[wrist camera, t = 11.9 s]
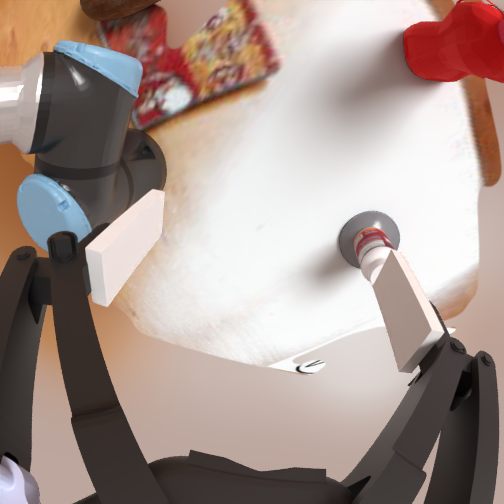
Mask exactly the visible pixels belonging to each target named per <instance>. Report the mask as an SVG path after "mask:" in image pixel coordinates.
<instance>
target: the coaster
mask: <svg viewBox="0 0 504 504" xmlns="http://www.w3.org/2000/svg"><path fill="white" fill-rule="evenodd" d="M368 227H377V228H379V229H381V230H382V231H383V232H384V233H385V234H386V236H387V237H388V239H389V241H390V242H391V244H392V246H393V248H394V250H396V251H397V249H398V246H399V242H400V234H399V230H398V227H397V225H396V224H395V222H394V221H393V220H392V219H391V218H390V217H389V216H388V215H386V214H384V213H382V212H378V211H367V212H363V213H360V214H358V215H356V216H354V217H353V218H352V219H350V220H349V221H348V222H347V224H346V225H345V226H344V228H343V230H342V232H341V235H340V249H341V252H342V255H343V257H344V258H345V259H346V261H347V262H348V263H350V264H351V265H353V266H355V267H357V268H360V265H359V262H358V259H357V256H356V253H355V249H354V240H355V237H356V236H357V234H358V233H359V232H360V231H361V230H363V229H365V228H368Z"/></svg>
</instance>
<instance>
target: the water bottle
mask: <svg viewBox="0 0 504 504" xmlns="http://www.w3.org/2000/svg"><path fill="white" fill-rule="evenodd" d="M461 1H463V0H459V1H458V2H457V3H456V5H455V6H454V8H453V9H452V10H451V11H450V13H449V14H448V15H447V16H446V18H445V19H444V20H443V21H442V22H419V23H416V24H414V25H411V26H410V27H409V28H408V29H407V30H406V31H405V34H404V42H403V44H404V49H405V58H406V61H407V63H408V66H409V68H410V69H411V70H412V71H413V73H414V74H415V75H417V76H419V77H421V78H423V79H427V80H434V81H441V82H455V81H458V80H460V79H462V78H464V77H466V76H468V75H470V74H472V75H475V76H478V77H480V78H488V79H491V80H495V81H498V82H501V83H504V11H502V9H500V8H499V7H498V6H496V5H494V4H493V3H491V2H490V1H489V0H487V1H488V2H490V3H491V4H493V5H489V4H485V3H483V2H480V1H478V2H461ZM460 2H461V3H460ZM492 6H494V7H495V8H494V7H492ZM496 8H497V9H496Z"/></svg>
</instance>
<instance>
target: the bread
mask: <svg viewBox="0 0 504 504" xmlns="http://www.w3.org/2000/svg"><path fill="white" fill-rule="evenodd" d="M158 1H160V0H80V4H81V7H82V10H83V11H84V12H85V13H86V14H87V15H88V16H89V17H90V18H92V19H94V20H98V21H103V20H111V19H117V18H122V17H126V16H129V15H132V14H134V13H136V12H139V11H141V10H143V9H145V8H147V7H148V6H150V5H152V4H154V3H156V2H158Z"/></svg>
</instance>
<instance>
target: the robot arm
mask: <svg viewBox="0 0 504 504" xmlns="http://www.w3.org/2000/svg"><path fill="white" fill-rule="evenodd" d="M53 51H54V52H38V53H37V54H35V55H34V56H33V57H32V58H31V59H29V60H28V61H27V62H26V63H25V64H23V65H17V66H1V67H0V144H5V143H12V144H14V145H15V146H16V147H17V148H18V149H19V150H20V151H21V152H22V153H23V154H35V153H36V155H35V168H34V174H31V175H29V176H27V177H26V178H25V180H24V181H23V182H22V184H21V185H20V186H19V190H18V192H17V207H18V212H19V215H20V218H21V221H22V223H23V225H24V227H25V229H26V230H27V232H28V233H29V235H30V236H31V238H32V239H33V240H34V241H35V242H36V243H37V244H38V245H39V246H40V247H41V248H42V249H44V250H45V251H47V252H48V253H49V258H43V257H37V252H36V250H35V248H33V247H31V246H23V247H20V248H17V249H16V250H14V251H13V252H12V254H11V255H10V257H9V259H8V261H7V263H6V265H5V267H4V269H3V272H2V274H1V276H0V504H41V503H40V500H39V496H40V494H39V488H38V485H37V482H36V481H35V478H34V477H33V476H32V475H31V474H30V465H31V449H32V437H31V436H32V434H31V433H32V404H33V390H34V380H35V370H36V363H37V355H38V349H39V343H40V337H41V332H42V326H43V321H44V317H45V312H46V307H47V305H52V307H53V316H54V326H55V333H56V340H57V346H58V353H59V359H60V364H61V369H62V374H63V379H64V384H65V388H66V392H67V396H68V400H69V404H70V408H71V412H72V418H71V424H72V427H73V431H74V434H75V438H76V441H77V444H78V447H79V449H80V452H81V455H82V458H83V461H84V463H85V466H86V468H87V471H88V474H89V476H90V478H91V481H92V483H93V486H94V488H95V490H96V493H94V494H92V495H90V496H88V497H86V498H84V499H82V500H79V501H77V502H75V503H73V504H412V502H413V501H414V499H415V497H416V496H417V494H418V492H419V490H420V489H421V487H422V485H423V483H424V481H425V479H426V473H425V472H424V471H423V470H422V469H423V466H424V465H425V463H426V461H427V459H428V457H429V455H430V453H431V450H432V449H433V446H434V444H435V442H436V440H437V438H438V435H439V433H440V431H441V433H440V439H439V445H438V450H437V455H436V459H435V464H434V468H433V472H432V476H431V480H430V484H429V487H428V491H427V494H426V498H425V501H424V504H493V498H494V491H495V485H496V476H497V466H498V451H499V450H498V449H499V405H498V389H497V378H496V370H495V363H494V361H493V359H492V357H491V356H490V355H489V354H488V353H486V352H484V351H479V352H478V353H477V354H476V356H475V357H472V356H470V355H468V354H466V349H465V347H464V345H463V344H462V343H461V342H460V341H459V340H457V339H455V338H452V337H450V335H449V333H448V331H447V329H446V327H445V325H444V323H443V321H442V319H441V317H440V316H439V313H438V311H437V309H436V307H435V306H434V305H433V304H432V303H431V301H430V300H428V298H427V296H426V294H425V292H424V290H423V288H422V287H421V285H420V283H419V281H418V279H417V278H416V276H415V274H414V272H413V270H412V269H411V267H410V265H409V263H408V262H407V260H406V258H405V257H404V255H403V253H402V252H400V251H396V250H393V249H391V250H390V253H389V255H388V257H387V259H386V261H385V263H384V265H383V267H382V269H381V271H380V273H379V275H378V277H377V279H376V281H375V283H374V284H373V286H372V287H373V289H374V292H375V295H376V298H377V301H378V304H379V307H380V310H381V313H382V316H383V319H384V322H385V325H386V329H387V332H388V335H389V338H390V342H391V345H392V348H393V352H394V356H395V359H396V363H397V366H398V370H399V372H406V373H412V372H413V371H414V369H415V368H416V367H417V366H418V365H419V366H420V370H421V371H420V372H419V373H418V375H417V376H416V377H415V378H414V379H413V380H412V381H411V382H410V383H409V384H408V386H410V385H411V386H410V388H409V390H408V391H407V393H406V395H405V397H404V398H403V400H402V402H401V403H400V405H399V406H398V408H397V410H396V411H395V413H394V415H393V416H392V417H391V419H390V421H389V422H388V423H387V425H386V426H385V428H384V429H383V431H382V432H381V434H380V435H379V437H378V438H377V439H376V441H375V442H374V444H373V445H372V446H371V448H370V449H369V451H368V452H367V453H366V454H365V456H364V457H363V458H362V459H361V461H360V462H359V463H358V465H357V466H356V467H355V468H354V469H353V471H352V472H351V473H350V474H349V475H348V476H347V477H346V478H345V479H344V480H343V481H342V482H338V481H336V480H334V479H331V478H329V477H326V469H312V468H297V467H296V468H295V467H294V468H288V469H280V470H272V471H256V470H254V469H251V468H249V467H246V466H244V465H241V464H239V463H236V462H234V461H232V460H229V459H227V458H224V457H219V456H215V455H210V454H205V453H202V452H197V451H193V450H190V453H189V456H174V457H168V458H163V459H160V460H156V461H154V462H151V463H149V464H147V462H146V460H145V458H144V456H143V454H142V452H141V450H140V448H139V446H138V443H137V442H136V439H135V437H134V435H133V433H132V430H131V428H130V426H129V423H128V421H127V419H126V417H125V414H124V412H123V409H122V407H121V405H120V403H119V401H118V398H117V395H116V393H115V390H114V387H113V385H112V382H111V379H110V376H109V373H108V370H107V367H106V364H105V361H104V358H103V354H102V351H101V348H100V344H99V341H98V337H97V334H96V330H95V326H94V322H93V318H92V315H91V310H90V306H89V302H88V297H87V296H88V295H89V293H91V294H92V300H93V302H94V303H97V304H100V305H102V306H105V307H108V306H109V304H110V303H111V302H112V300H113V299H114V297H115V296H116V295H117V293H118V292H119V290H120V289H121V288H122V286H123V285H124V283H125V282H126V281H127V279H128V278H129V277H130V275H131V274H132V273H133V271H134V270H135V269H136V267H137V266H138V265H139V263H140V262H141V261H142V259H143V258H144V257H145V255H146V254H147V253H148V252H149V250H150V249H151V248H152V246H153V245H154V244H155V243H156V241H157V240H158V239H159V238H160V236H161V235H162V221H163V209H164V198H165V192H164V191H163V188H164V186H165V182H166V175H167V169H166V162H165V158H164V155H163V153H162V151H161V149H160V147H159V146H158V144H157V143H156V142H155V140H154V139H153V138H151V137H150V136H149V135H148V134H146V133H144V132H142V131H140V130H137V129H132V128H128V126H129V122H130V118H131V115H132V111H133V107H134V104H135V100H136V99H137V98H138V89H139V85H140V81H141V77H142V74H143V68H142V65H141V63H140V62H139V61H138V60H137V59H135V58H133V57H131V56H128V55H125V54H122V53H119V52H116V51H113V50H109V49H106V48H102V47H98V46H94V45H89V44H84V43H78V42H74V41H68V40H60V41H58V42H57V44H56V45H55V46H54V47H53ZM111 223H112V224H111Z"/></svg>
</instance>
